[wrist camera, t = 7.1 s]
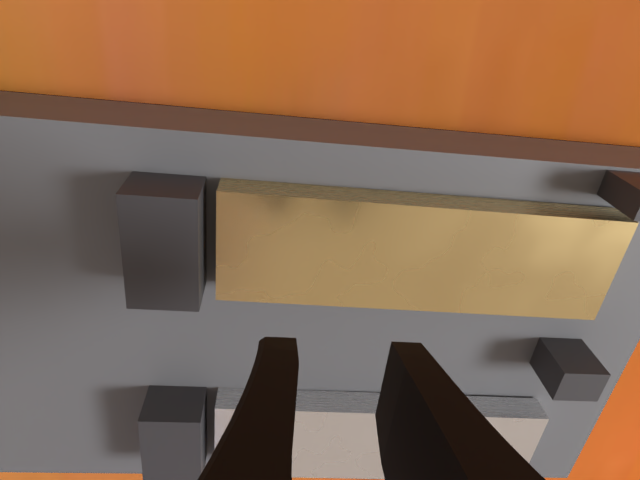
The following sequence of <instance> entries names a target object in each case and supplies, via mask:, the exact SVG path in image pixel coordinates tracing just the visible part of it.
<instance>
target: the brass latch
mask: <svg viewBox="0 0 640 480" xmlns="http://www.w3.org/2000/svg"><path fill="white" fill-rule="evenodd" d="M638 224H639V223H638V222H637V221H633V220H632V219H630V218H629V217H627V216H626V215H625V214H623V213H622V212H620V211H619V210H618V209H616V208H609V207H596V206H583V205H571V204H558V203H545V202H532V201H519V200H506V199H493V198H480V197H467V196H455V195H442V194H429V193H416V192H403V191H390V190H377V189H364V188H351V187H338V186H326V185H313V184H300V183H287V182H274V181H260V180H247V179H233V178H221V179H220V182H219V185H218V188H217V191H216V300H225V301H243V302H262V303H281V304H300V305H319V306H338V307H356V308H375V309H394V310H413V311H432V312H450V313H469V314H488V315H507V316H526V317H545V318H563V319H582V320H595V318H596V316H597V314H598V311H599V309H600V307H601V305H602V303H603V300H604V298H605V296H606V294H607V292H608V289H609V287H610V285H611V283H612V281H613V279H614V276H615V274H616V272H617V270H618V268H619V265H620V263H621V261H622V259H623V257H624V254H625V252H626V250H627V248H628V246H629V244H630V241H631V239H632V237H633V235H634V233H635V230H636V228H637V226H638Z"/></svg>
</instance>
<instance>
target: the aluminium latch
mask: <svg viewBox="0 0 640 480" xmlns="http://www.w3.org/2000/svg"><path fill="white" fill-rule="evenodd" d="M244 389H245V388H228V387H218V392H217V398H216V404H215V443H214V450H215V448H216V446H217V444H218V442H219V441H220V439H221V437H222V435H223V433H224V431H225V429H226V428H227V426H228V424H229V422H230V420H231V418H232V415H233V413H234V411H235V409H236V407H237V404H238V402H239V400H240V398H241V396H242V393H243V391H244ZM379 395H380V393H374V392H346V391H318V390H297V397H296V410H295V423H294V435H293V448H292V477H304V478H360V479H385V478H384V473H383V469H382V465H381V458H380V450H379V443H378V435H377V426H376V418H375V414H376V409H377V404H378V400H379ZM467 398H468V399H469V400H470V401H471V402H472V403H473V405H474V406H475V407H476V408H477V409H478V410H479V411H480V412H481V413H482V415H483V416H484V417H485V418H486V419H487V420H488V421H489V422H490V423H491V425H492V426H493V427H494V428H495V429H496V430H497V431H498V432H499V433H500V434H501V435H502V436H503V437H504V438H505V440H506V441H507V442H508V443H509V444H510V445H511V446H512V447H513V448H514V449H515V450H516V451H517V452H518V453H519V454H520V455H521V456H522V457H523V458H524V459H525V460H526V461H527V462H528V463H529V462H530V460H531V458H532V456H533V453H534V451H535V449H536V447H537V445H538V443H539V440H540V438H541V436H542V434H543V432H544V429H545V427H546V425H547V423H548V421H549V418H548V416H547V415H546V413H545V411H544V409H543V408H542V406H541V404H540V403H539V401H538V399H537V398H514V397H486V396H467Z"/></svg>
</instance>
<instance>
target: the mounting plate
mask: <svg viewBox="0 0 640 480" xmlns="http://www.w3.org/2000/svg"><path fill="white" fill-rule="evenodd" d="M221 178H233V179H247V180H260V181H274V182H287V183H300V184H313V185H326V186H338V187H351V188H364V189H377V190H390V191H403V192H416V193H429V194H442V195H455V196H467V197H480V198H493V199H506V200H519V201H532V202H545V203H558V204H571V205H583V206H596V207H609V208H616V209H618V210H619V211H620V212H622V213H623V214H625V215H626V216H627V217H629V218H630V219H632V220H633V221H637V222H638V223H639V224H638V226H637V228H636V230H635V233H634V235H633V237H632V239H631V241H630V244H629V246H628V248H627V250H626V252H625V254H624V257H623V259H622V261H621V263H620V265H619V268H618V270H617V272H616V274H615V276H614V279H613V281H612V283H611V285H610V287H609V289H608V292H607V294H606V296H605V298H604V300H603V303H602V305H601V307H600V309H599V311H598V314H597V316H596V318H595V320H582V319H563V318H545V317H526V316H507V315H488V314H469V313H450V312H432V311H413V310H394V309H375V308H356V307H338V306H319V305H300V304H281V303H262V302H243V301H225V300H216V191H217V188H218V185H219V182H220V179H221ZM264 337H288V338H296V340H297V348H298V357H299V371H298V384H297V390H318V391H346V392H374V393H380V391H381V386H382V382H383V377H384V373H385V368H386V364H387V359H388V354H389V350H390V345H391V342H416V343H422V344H423V346H424V347H425V348H426V349H427V350H428V351H429V353H430V354H431V355H432V356H433V357H434V359H435V360H436V361H437V362H438V363H439V365H440V366H441V367H442V368H443V369H444V371H445V372H446V373H447V374H448V375H449V376H450V378H451V379H452V380H453V381H454V382H455V384H456V385H457V386H458V387H459V388H460V389H461V391H462V392H463V393H464V394H465V395H466V396H486V397H514V398H537V399H538V401H539V403H540V404H541V406H542V408H543V409H544V411H545V413H546V415H547V416H548V418H549V421H548V423H547V425H546V427H545V429H544V432H543V434H542V436H541V438H540V440H539V443H538V445H537V447H536V449H535V451H534V453H533V456H532V458H531V460H530V462H529V464H530V465H531V466H532V467H533V468H534V469H535V470H536V471H537V472H538V473H539V474H540V475H541V476H542V477H549V478H567V477H568V475H569V473H570V471H571V469H572V467H573V466H574V464H575V462H576V460H577V458H578V456H579V454H580V452H581V450H582V448H583V446H584V444H585V443H586V441H587V439H588V437H589V435H590V433H591V431H592V429H593V427H594V425H595V423H596V422H597V420H598V418H599V416H600V414H601V412H602V410H603V408H604V406H605V404H606V402H607V400H608V399H609V397H610V395H611V393H612V391H613V389H614V387H615V385H616V383H617V381H618V379H619V378H620V376H621V374H622V372H623V370H624V368H625V366H626V364H627V362H628V360H629V358H630V356H631V355H632V353H633V351H634V349H635V347H636V345H637V343H638V341H639V339H640V147H631V146H620V145H608V144H597V143H586V142H574V141H563V140H552V139H540V138H529V137H518V136H507V135H495V134H484V133H473V132H461V131H450V130H439V129H427V128H416V127H405V126H393V125H382V124H371V123H360V122H348V121H337V120H326V119H314V118H303V117H292V116H280V115H269V114H258V113H247V112H235V111H224V110H213V109H201V108H190V107H179V106H167V105H156V104H145V103H133V102H122V101H111V100H100V99H88V98H77V97H66V96H54V95H43V94H32V93H20V92H9V91H0V472H45V473H142V474H143V480H198V478H199V476H200V475H201V473H202V471H203V470H204V468H205V466H206V464H207V463H208V461H209V459H210V457H211V455H212V453H213V452H214V443H215V404H216V398H217V392H218V387H228V388H245V386H246V384H247V381H248V379H249V376H250V374H251V371H252V368H253V365H254V362H255V358H256V354H257V350H258V344H259V341H260V340H261V339H262V338H264Z"/></svg>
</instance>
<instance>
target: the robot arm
mask: <svg viewBox="0 0 640 480" xmlns="http://www.w3.org/2000/svg"><path fill="white" fill-rule="evenodd" d="M298 371H299V357H298V348H297V340H296V338H288V337H264V338H262V339H261V340H260V341H259V344H258V350H257V354H256V358H255V362H254V365H253V368H252V371H251V374H250V376H249V379H248V381H247V384H246V386H245V389H244V391H243V393H242V396H241V398H240V400H239V402H238V404H237V407H236V409H235V411H234V413H233V415H232V418H231V420H230V422H229V424H228V426H227V428H226V429H225V431H224V433H223V435H222V437H221V439H220V441H219V442H218V444H217V446H216V448H215V450H214V452H213V453H212V455H211V457H210V459H209V461H208V463H207V464H206V466H205V468H204V470H203V471H202V473H201V475H200V476H199V478H198V480H292V448H293V435H294V423H295V410H296V397H297V384H298ZM375 418H376V426H377V435H378V443H379V450H380V458H381V465H382V469H383V473H384V478H385V480H545V479H544V478H543V477H542V476H541V475H540V474H539V473H538V472H537V471H536V470H535V469H534V468H533V467H532V466H531V465H530V464H529V463H528V462H527V461H526V460H525V459H524V458H523V457H522V456H521V455H520V454H519V453H518V452H517V451H516V450H515V449H514V448H513V447H512V446H511V445H510V444H509V443H508V442H507V441H506V440H505V438H504V437H503V436H502V435H501V434H500V433H499V432H498V431H497V430H496V429H495V428H494V427H493V426H492V425H491V423H490V422H489V421H488V420H487V419H486V418H485V417H484V416H483V415H482V413H481V412H480V411H479V410H478V409H477V408H476V407H475V406H474V405H473V403H472V402H471V401H470V400H469V399H468V398H467V396H466V395H465V394H464V393H463V392H462V391H461V389H460V388H459V387H458V386H457V385H456V384H455V382H454V381H453V380H452V379H451V378H450V376H449V375H448V374H447V373H446V372H445V371H444V369H443V368H442V367H441V366H440V365H439V363H438V362H437V361H436V360H435V359H434V357H433V356H432V355H431V354H430V353H429V351H428V350H427V349H426V348H425V347H424V346H423V344H422V343H416V342H391V345H390V350H389V354H388V359H387V364H386V368H385V373H384V377H383V382H382V386H381V391H380V395H379V400H378V404H377V409H376V414H375Z"/></svg>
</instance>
